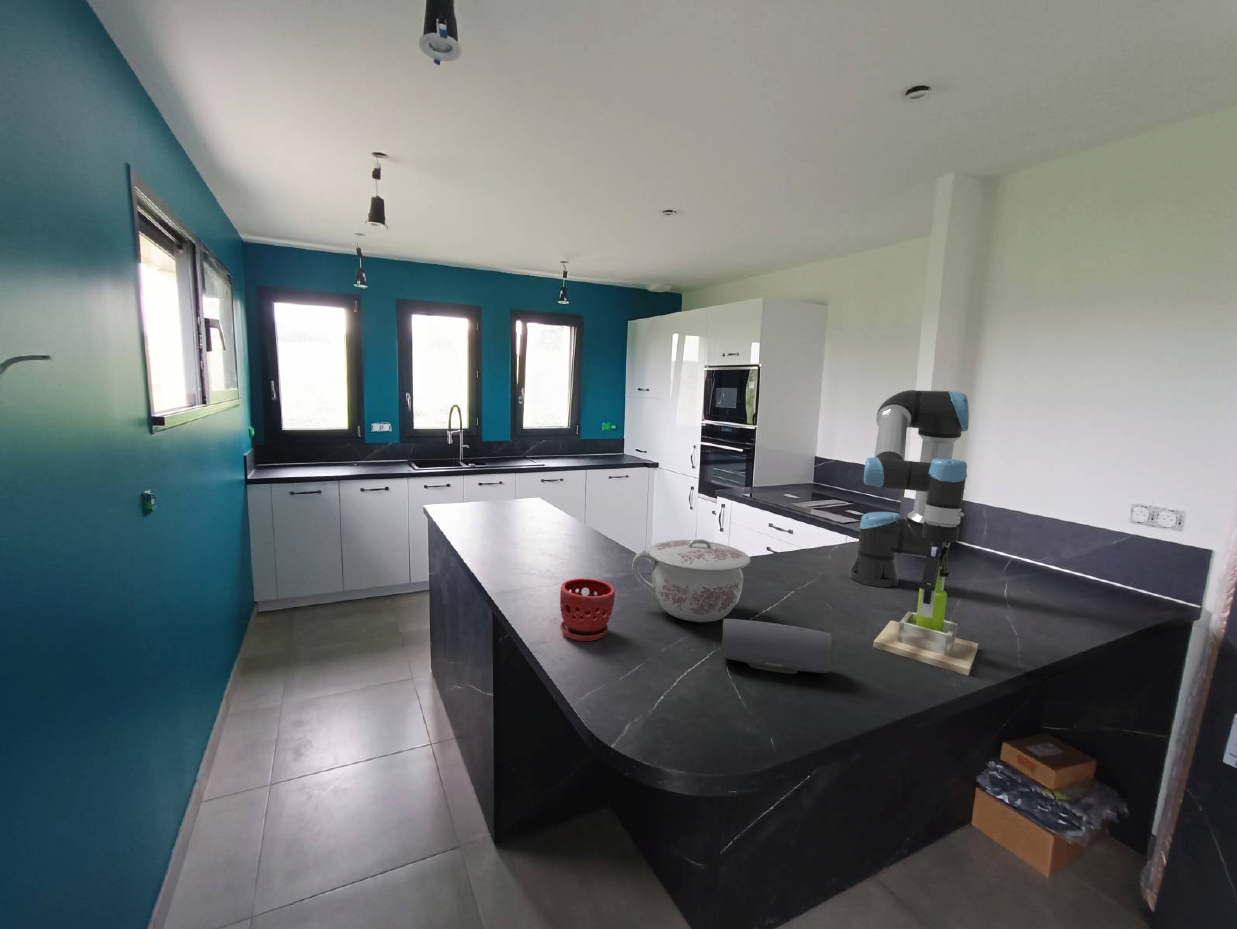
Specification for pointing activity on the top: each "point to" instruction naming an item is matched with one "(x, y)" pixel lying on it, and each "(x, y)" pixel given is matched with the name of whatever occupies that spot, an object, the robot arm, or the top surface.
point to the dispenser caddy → (928, 644)
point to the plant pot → (586, 609)
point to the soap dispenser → (934, 608)
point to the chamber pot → (694, 578)
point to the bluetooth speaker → (776, 646)
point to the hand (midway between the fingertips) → (930, 608)
